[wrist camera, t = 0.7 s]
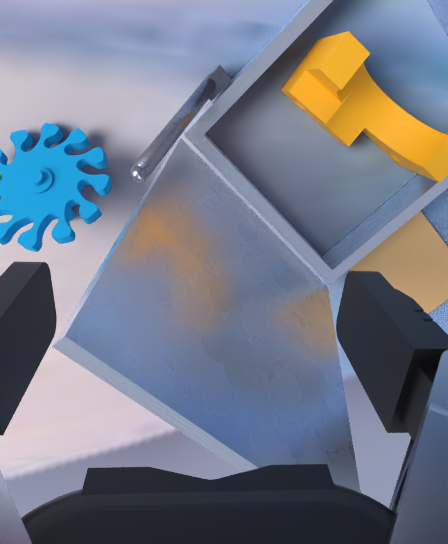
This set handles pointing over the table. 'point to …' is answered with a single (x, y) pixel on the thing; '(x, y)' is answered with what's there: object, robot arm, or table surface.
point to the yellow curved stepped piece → (362, 106)
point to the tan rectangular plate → (412, 262)
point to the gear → (48, 185)
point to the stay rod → (172, 131)
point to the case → (332, 264)
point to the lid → (216, 328)
